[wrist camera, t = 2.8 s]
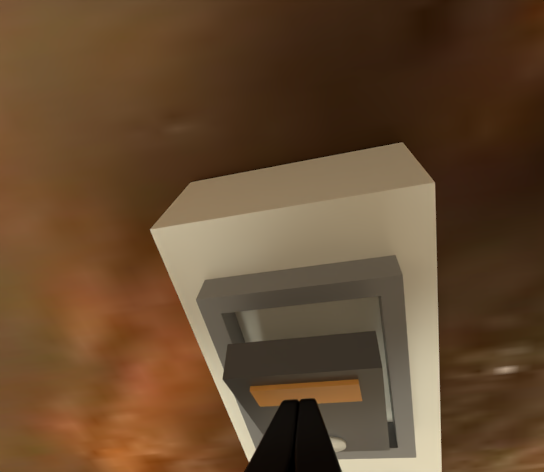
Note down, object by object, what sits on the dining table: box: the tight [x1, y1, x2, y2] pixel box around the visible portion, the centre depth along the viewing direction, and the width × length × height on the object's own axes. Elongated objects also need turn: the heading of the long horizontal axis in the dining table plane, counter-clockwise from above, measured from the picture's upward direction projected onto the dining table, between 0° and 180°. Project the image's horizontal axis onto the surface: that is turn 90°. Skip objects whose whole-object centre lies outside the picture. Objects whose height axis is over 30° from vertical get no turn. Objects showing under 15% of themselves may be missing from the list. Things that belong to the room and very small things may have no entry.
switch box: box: [150, 142, 442, 472], centre depth 17 cm, size 24×8×5 cm, turn 13°
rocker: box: [223, 331, 390, 452], centre depth 11 cm, size 6×4×1 cm, turn 13°
